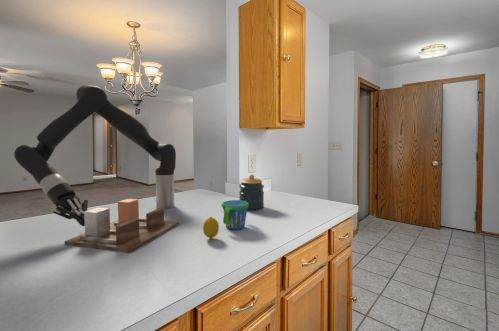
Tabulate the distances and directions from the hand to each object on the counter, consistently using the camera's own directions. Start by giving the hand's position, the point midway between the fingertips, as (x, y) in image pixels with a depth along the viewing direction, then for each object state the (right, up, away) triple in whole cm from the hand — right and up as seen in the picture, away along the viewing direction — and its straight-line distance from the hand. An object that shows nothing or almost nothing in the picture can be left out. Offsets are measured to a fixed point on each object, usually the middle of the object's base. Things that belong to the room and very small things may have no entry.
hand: (86, 224), depth 97 cm
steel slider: (+5, -4, -1) cm, 6 cm away
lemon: (+45, -5, 0) cm, 45 cm away
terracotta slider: (+9, -2, +14) cm, 17 cm away
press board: (+13, -4, +5) cm, 14 cm away
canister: (+59, -1, +45) cm, 74 cm away
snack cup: (+53, -4, +13) cm, 54 cm away
